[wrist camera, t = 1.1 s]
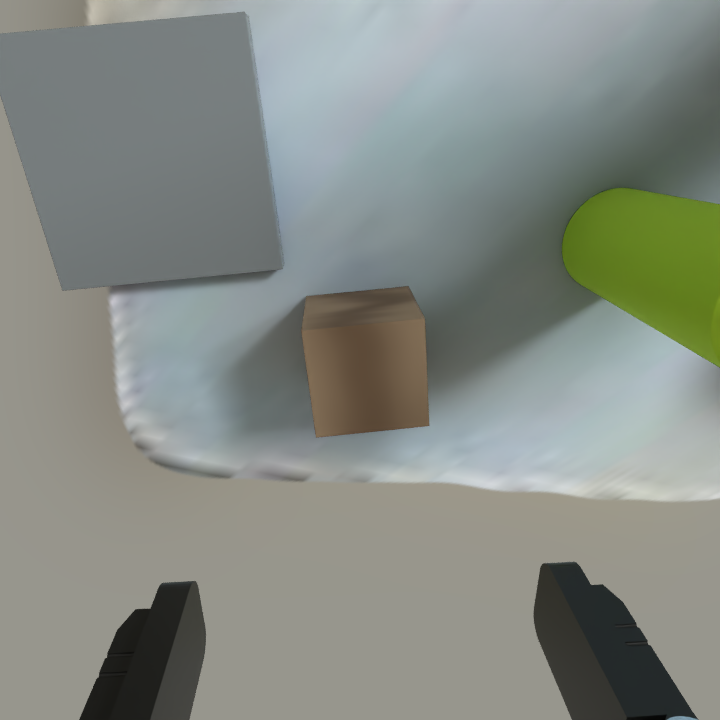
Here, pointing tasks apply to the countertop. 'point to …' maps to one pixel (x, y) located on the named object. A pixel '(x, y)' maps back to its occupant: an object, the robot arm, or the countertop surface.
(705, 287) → the soap dispenser
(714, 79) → the countertop surface
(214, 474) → the countertop surface
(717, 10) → the countertop surface
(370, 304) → the walnut cube
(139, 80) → the slate tile
